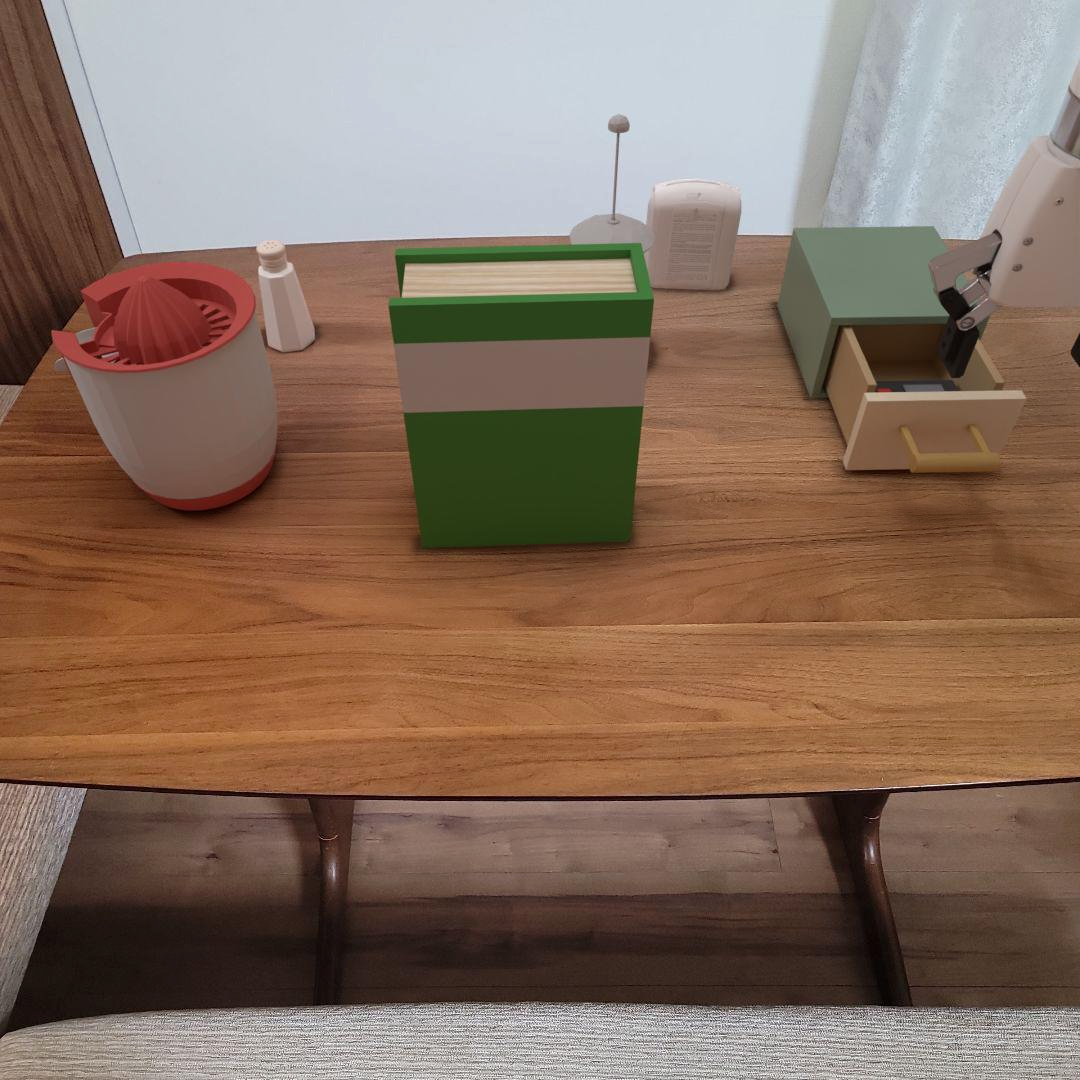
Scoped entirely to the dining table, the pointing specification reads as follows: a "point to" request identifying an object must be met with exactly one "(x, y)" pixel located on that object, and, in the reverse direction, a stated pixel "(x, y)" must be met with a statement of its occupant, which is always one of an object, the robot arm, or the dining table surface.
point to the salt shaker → (283, 300)
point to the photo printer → (692, 233)
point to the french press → (613, 213)
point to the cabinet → (856, 287)
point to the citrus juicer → (177, 381)
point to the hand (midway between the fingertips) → (1016, 366)
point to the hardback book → (523, 389)
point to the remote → (915, 386)
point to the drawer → (916, 402)
